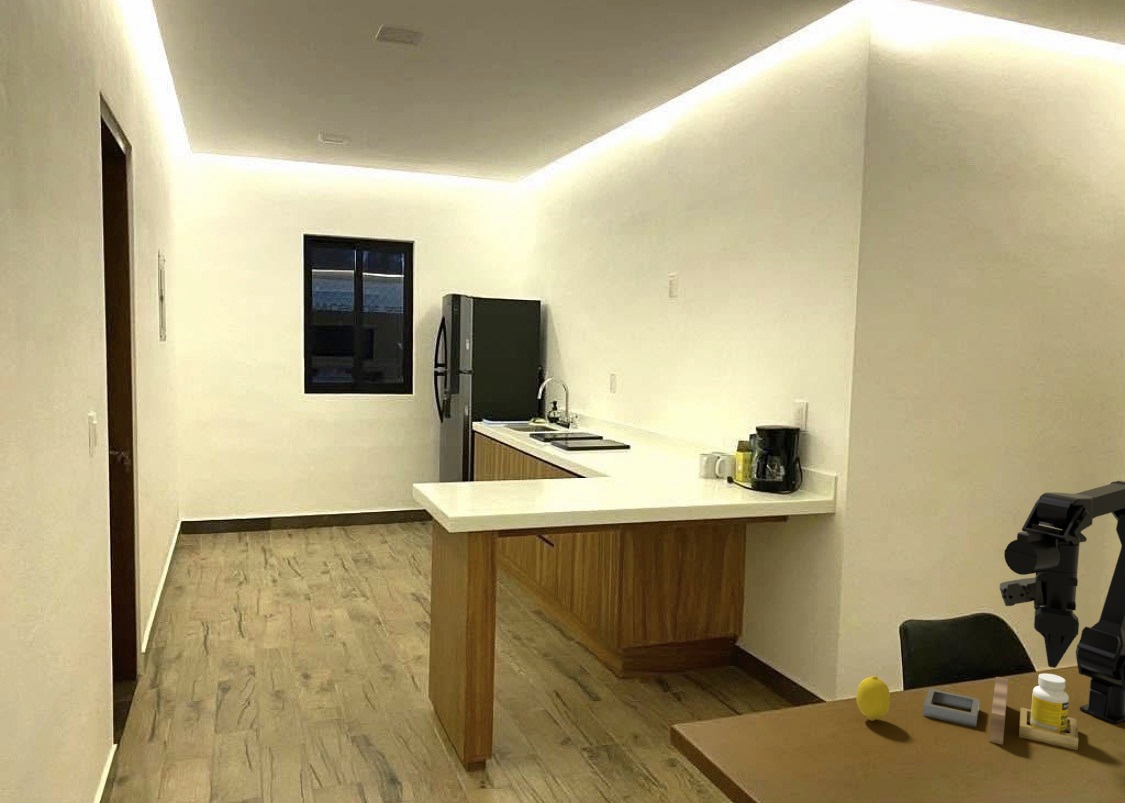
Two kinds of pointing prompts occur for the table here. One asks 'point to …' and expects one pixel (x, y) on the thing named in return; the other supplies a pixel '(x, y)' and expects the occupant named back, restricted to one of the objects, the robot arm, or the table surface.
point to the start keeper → (949, 713)
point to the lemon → (873, 698)
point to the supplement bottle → (1050, 703)
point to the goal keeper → (1048, 732)
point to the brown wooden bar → (998, 711)
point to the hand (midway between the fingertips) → (1051, 658)
